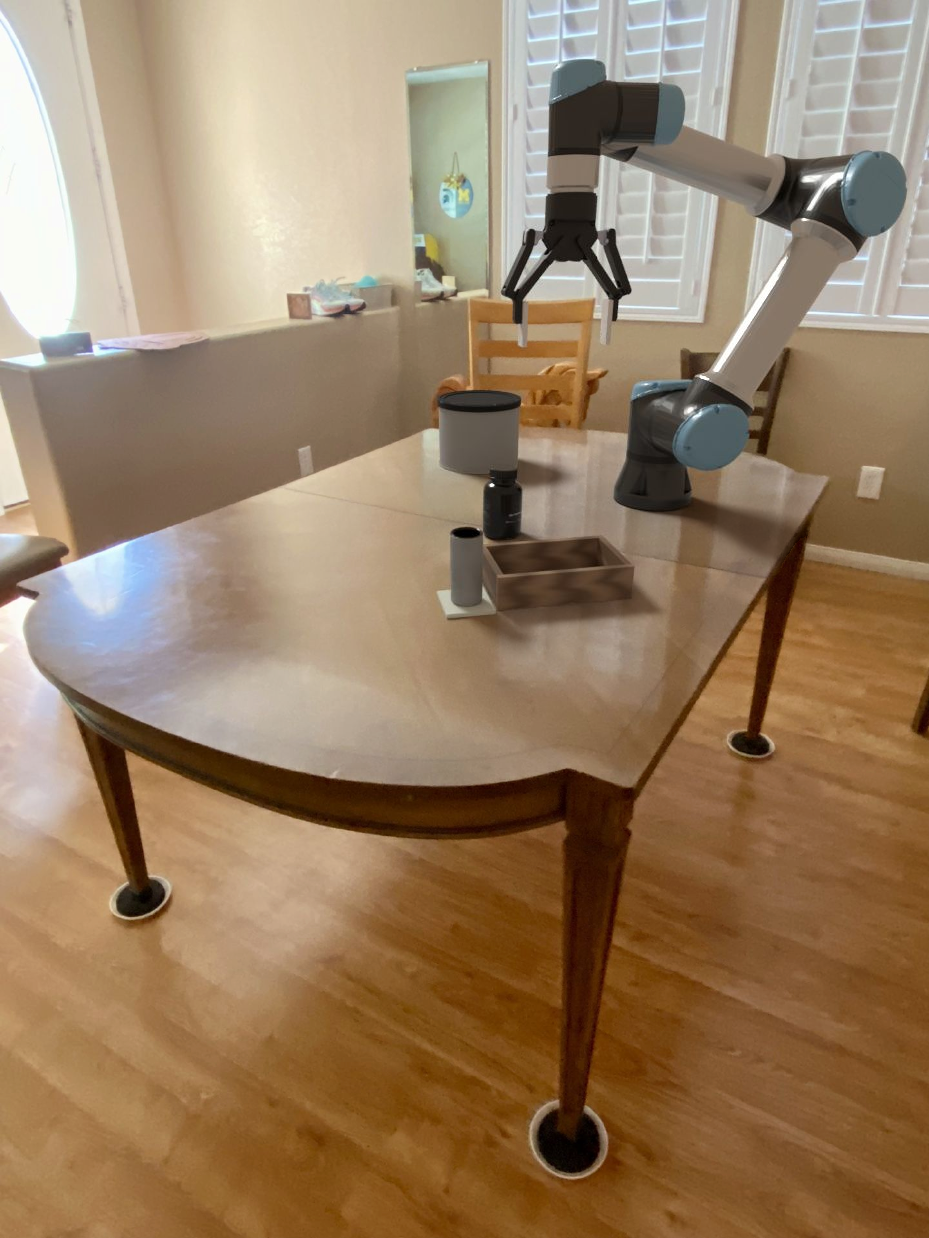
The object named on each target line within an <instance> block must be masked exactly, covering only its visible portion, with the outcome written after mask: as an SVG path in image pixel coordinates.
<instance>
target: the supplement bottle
mask: <svg viewBox="0 0 929 1238" xmlns="http://www.w3.org/2000/svg"><path fill="white" fill-rule="evenodd" d="M518 471H519V469H518V466H517V467H516V466H514V465H508V464H497V465H493V466H491V467H490V474H489V475H488V477H489V479H490V480H488V481H487V482H486V483H485V484H484V486H483V493H482V494H483V495H482V496H483V497H482V499H483V500H482V532H483V536H485V537H487V538H490V539H494V540H503V541H504V540H512V539H516V538H517V537H519V536H520V534H521V533H522V530H521V529H522V516H523V515H522V514H523V513H522V512H523V490H524V488H523V486H522V484H521V483H520V482H518V481H517V480H518V479H519V478H518V477H519V476H518V474H519V473H518Z"/></svg>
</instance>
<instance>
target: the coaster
mask: <svg viewBox="0 0 929 1238" xmlns="http://www.w3.org/2000/svg"><path fill="white" fill-rule="evenodd" d="M436 596H437V598H438V601H439V604H440V605H441V606H440V607H441V608H442V612H443V613H444V616H445V619H454V618H455V619H457V618H466V617H477V616H478V617H479V616H487V615H489V616H490V615H496V613H497V609H496V607H495V605H494V603H493V601H492V599H491V598H490V596H489V594H488V592H487V590H486V588H485V587H484V586H482V601H481V602H480V603H479V604H477V605H474V606H459V605H456V604H454V603H453V602H452V601H451V589H443V590H436Z"/></svg>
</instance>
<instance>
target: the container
mask: <svg viewBox="0 0 929 1238" xmlns="http://www.w3.org/2000/svg"><path fill="white" fill-rule="evenodd" d="M436 405H437V407H438V432H439V433H438V436H439V437H438V438H439V443H438V444H439V447H438V448H439V460H438V464H439V466H440V467H441V468H443V469H444V470H447V471H449V472H454V473H460V474H468V475H469V474H470V475H487V474H489V473H490V467H491V466H493V465H497V464H508V465H514V466H517V465H518V466H519V463H520V461H519V432H520V431H519V430H520V407H521V405H522V398H521V396H520V395H518V394H515V393H512V392H509V391H502V390H494V389H493V390H491V389H488V390H487V389H467V390H457V391H450V392H447V393H446V392H445V393H443V394H440V395H439V396H437V397H436ZM518 466H517V467H518Z"/></svg>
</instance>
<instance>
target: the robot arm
mask: <svg viewBox="0 0 929 1238" xmlns="http://www.w3.org/2000/svg"><path fill="white" fill-rule="evenodd" d="M606 71H607V70H606V64H605V63H604V62H603V61H601V60H598V59H597V60H595V59H591V58H575V59H568V60H564V61H560V62H559V63H558V64H557V63H556V65H555V66H554V67H553V69H552V71H551V78H550V86H549V98H548V101H547V102H548V137H547V139H548V140H547V146H548V147H547V162H546V163H547V165H546V184H545V185H546V188H547V189H548V190H550V192H549V193H547V194H546V196H545V208H544V210H545V211H544V227H543V230H537V229H536V230H535V229H534V228H526V229H524V230H523V233H522V241H521V246H520V248H519V250H518V252H517V255H516V257H515V259H514V262H513V263H512V265H511V267H510V270H509V273H508V274H507V276H506V279H505V280H504V283H503V285H502V288H501V289H500V294H501V296H502V297H505V298H508V299H510V300H511V301H512V322H513V324H514V325H518V328H517V332H518V333H517V346H518V347H521V348H528V333H529V332H528V328H529V325H528V324H529V319H528V318H529V301H526V300H524V299H525V298H526V297H527V296H528V294H529V293H530V291H531V290H532V289H533V288H534V286H535V285H536V284H537V282H538V281H539V280H540V278H542V276H543V275H544V273H545V272H546V271H547V270H548V269H549V267H550V266H551V265H552V264H553V263H554V262H555V261H556V262H558V263H566V262H571V263H572V262H574V263H575V262H578V263H580V262H581V261H582V262H583V263H584V265H586V266H587V269H588V270H589V271H590V273H591V274H592V276H593V277H594V279H595V280H596V281H597V283H598V285H599V286H600V287H601V289H602V290H603V292H604V293H605V295H606V297H607V298H603V299H602V303H601V305H602V306H601V317H600V319H601V320H600V331H599V344H602V345H605V346H606V345H607V346H609V345H611V336H612V324H613V322H617V320H618V313H619V303H620V302H619V301H620V300H622V298H624V297H625V296H628V295H631V294H632V293H633V292H632V291H633V290H632V289H633V288H632V286H631V284H630V281H629V278H628V274H627V271H626V269H625V266H624V264H623V259H622V258H621V254H620V252H619V249H618V246H617V232H616V231H617V230H616V229H615V228H612V227H608V228H604V229H603V230H598V229H597V227H596V222H597V221H596V220H597V211H598V210H597V209H598V195H597V193H596V192H595V189H597V188H598V187H599V181H600V180H599V179H600V162H601V161H600V160H601V156H603V157H607V158H609V159H613V160H614V161H615V160H616V161H618V162H622V163H624V164H628V165H630V166H633V167H635V168H638V169H639V168H640V169H642V170H645V171H647V172H650V173H653V174H656V175H658V176H660V177H664V178H667V179H669V180H672V181H675V182H677V183H680V184H683V185H685V186H689V187H692V188H694V189H696V190H700V191H703V192H705V193H707V194H711V195H712V196H713V195H714V196H717V197H719V198H722V199H724V200H727V201H729V202H733V203H736V204H738V205H741V206H743V207H744V211H745V213H746V214H748V215H749V216H751V217H755V218H757V219H760V220H762V221H765V222H767V223H770V224H772V225H774V226H777V227H780V228H782V229H785V230H787V231H789V232H791V237H792V239H791V241H790V243H789V244H788V246H787V247H786V249H785V250H784V252H783V254H782V255H781V257H780V258H779V260H778V261H777V263H776V264H775V266H774V267H773V269H772V271H771V272H770V274H769V275H768V277H767V279H766V281H765V282H764V283H763V285H762V286H761V288H760V290H759V291H758V293H757V294H756V296H755V298H754V299H753V300H752V302H751V304H750V306H748V308H747V310H746V311H745V313H744V315H743V316H742V318H741V320H740V321H739V322H738V325H737V326H736V327H735V329H734V331H733V332H732V334H731V335H730V336H729V338H728V340H727V342H725V345H724V346H723V348H722V349H721V351H720V352H719V354H718V356H717V358H716V359H715V360H714V362H713V363H712V364H711V367H710V368H709V370H708V371H706V372H702V373H698V374H696V375H695V376H694V377H693V379H656V380H655V379H653V380H642V381H638V382H636V383H635V384H634V385H633V388H632V392H631V396H630V397H631V398H630V400H629V404H630V405H629V408H630V409H629V418H628V430H627V431H628V432H627V441H626V442H627V443H626V451H625V453H626V454H625V455H626V456H625V460H624V463H623V465H622V467H621V470H620V472H619V475H618V476H617V478H616V482H615V484H614V487H613V499H614V500H615V501H616V502H618V503H619V504H621V505H623V506H626V507H630V508H633V509H638V510H645V511H673V510H680V509H683V508H686V507H688V506H690V504H691V501H692V496H693V489H692V485H691V479H690V473H689V469H688V468H692V469H696V470H699V471H703V472H711V471H717V470H719V469H723V468H725V467H727V466H728V465H730V464H731V463H733V462H734V461H735V460H736V459H737V458H738V457H739V456H741V454H742V452H743V451H744V450H745V448H746V446H747V444H748V441H749V439H750V433H749V430H750V421H749V418H750V416H751V415H752V414H753V412H754V410H755V404H754V400H753V397H754V394H756V391H757V390H758V388H759V387H760V385H761V384H762V382H763V381H764V379H765V377H766V376H767V375H768V373H769V371H770V370H771V368H772V366H774V364H775V363H776V361H777V359H778V358H779V356H780V355H781V353H782V352H783V351H784V349H785V348H786V346H787V345H788V343H789V341H790V340H791V338H792V337H793V335H794V334H795V332H796V331H797V329H798V328H799V326H800V324H801V323H802V322H803V320H804V318H805V317H806V315H807V313H808V312H809V311H810V309H811V308H812V306H813V304H814V303H815V302H816V301H817V298H818V297H819V295H820V294H821V292H822V291H823V290H824V288H825V286H826V285H827V283H828V282H829V281H830V279H831V277H832V276H833V274H834V273H835V272H836V270H837V268H838V267H839V266H840V265H841V264H843V263H846V262H849V261H852V260H854V259H855V258H856V257H857V255H858V253H859V252H860V251H861V249H862V248H863V246H864V244H865V243H866V242H867V241H868V239H869V238H872V237H877V236H880V235H881V234H884V233H885V232H887V231H888V230H890V229H891V228H892V227H893V226H894V225H895V224H896V222H897V221H898V219H899V218H900V216H901V214H902V212H903V209H904V208H905V203H906V200H907V194H908V193H907V192H908V188H907V186H906V185H907V184H906V182H907V175H906V172H905V169H904V166H903V165H902V163H901V161H900V160H899V159H898V158H897V157H896V156H895V155H893V154H892V153H890V152H888V151H885V150H884V151H883V150H882V151H881V150H875V151H872V150H867V149H866V150H861V151H858V152H856V153H851V154H842V155H834V156H833V155H831V156H824V157H816V158H795V157H793V158H792V157H788V156H785V155H782V154H780V153H771V154H769V155H767V156H765V155H761V154H759V153H757V152H754V151H751V150H749V149H746V148H744V147H741V146H738V145H736V144H733V143H732V142H731V143H730V142H728V141H726V140H723V139H720V138H718V137H716V136H714V135H710V134H708V133H705V132H703V131H699V130H698V129H694V128H692V127H689V126H687V125H684V120H685V115H686V114H685V113H686V99H685V94H684V92H683V90H682V89H681V87H680V86H678V85H677V84H671V83H664V82H662V81H659V82H636V81H635V82H632V81H616V80H615V81H613V80H609V79H607V76H608V75H607V72H606ZM540 240H541V241H542V243H543V245H544V246H545V248H546V249H545V250H544V251H543V252H542V254H541V255H540V256H539V259H538V260H537V262H536V263H535V264H534V265H533V267H532V268H531V270H530V271H529V272H528V273H527V275H526V276H525V277H524V279H522V281H521V283H520V284H519V285H518V283H519V280H520V278H521V276H522V274H523V273H524V269H526V265H527V263H528V261H529V259H530V258H531V257H530V256H531V255H532V253H533V250H534V247H535V246H538V244H539V242H540ZM597 240H598V241H599V244H600V245H601V246H602V247H603V250H604V253H605V257H606V259H607V263H608V265H609V269H610V270H611V274H612V277H613V279H614V282H615V283H614V282H613V280H612V279H611V277H610V276H609V274H608V273H607V271H606V270H605V268H604V267H603V265H602V264H601V262H600V261H599V259H598V256H597V254H596V253H595V252H594V250H593V249H592V248H593V246H594V245H595V244H596V242H597ZM615 284H616V285H615ZM517 285H518V286H517ZM516 287H517V288H516Z"/></svg>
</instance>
